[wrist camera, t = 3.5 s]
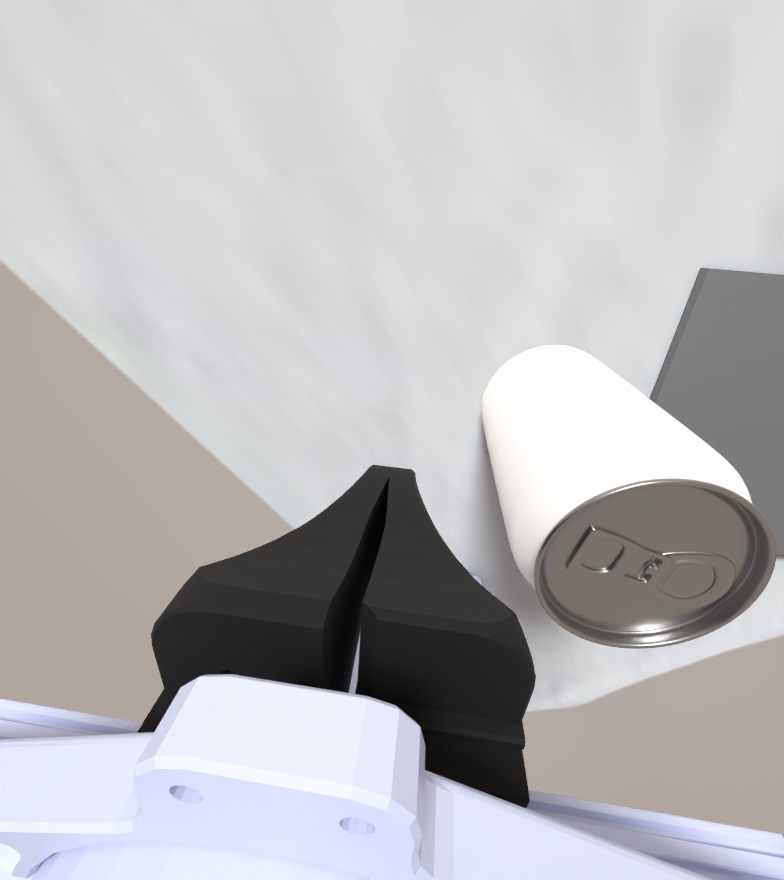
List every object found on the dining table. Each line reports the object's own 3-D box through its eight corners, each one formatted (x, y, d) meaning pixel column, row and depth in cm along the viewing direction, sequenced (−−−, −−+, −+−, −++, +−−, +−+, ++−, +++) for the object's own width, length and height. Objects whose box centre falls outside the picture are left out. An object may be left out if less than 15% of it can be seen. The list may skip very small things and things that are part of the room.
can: (573, 473, 22) (692, 683, 12) (463, 440, 22) (481, 622, 12) (636, 364, 20) (870, 512, 9) (508, 325, 19) (589, 428, 9)
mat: (816, 553, 23) (825, 560, 22) (600, 525, 24) (604, 531, 23) (1003, 294, 17) (1021, 296, 16) (701, 267, 17) (709, 268, 17)
